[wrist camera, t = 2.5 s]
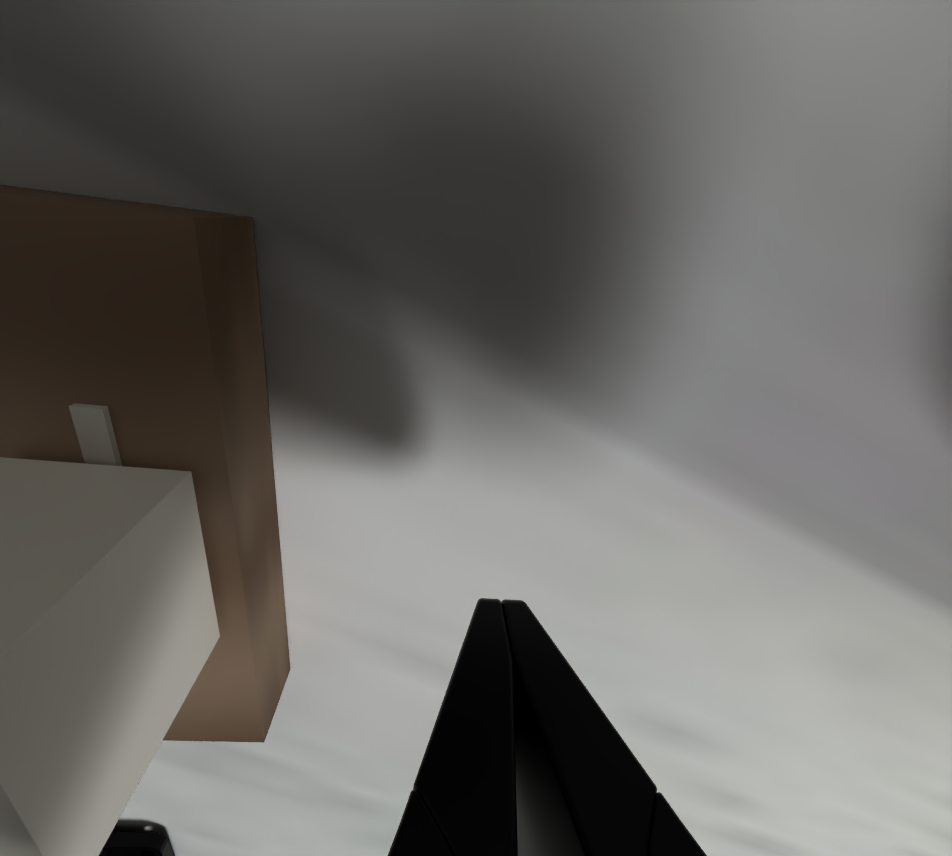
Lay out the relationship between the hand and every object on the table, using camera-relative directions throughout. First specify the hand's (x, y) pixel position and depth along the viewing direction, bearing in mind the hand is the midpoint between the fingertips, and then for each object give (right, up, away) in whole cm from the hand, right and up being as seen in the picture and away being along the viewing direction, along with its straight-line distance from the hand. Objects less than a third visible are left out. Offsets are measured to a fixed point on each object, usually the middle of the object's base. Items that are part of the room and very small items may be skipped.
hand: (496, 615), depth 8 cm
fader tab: (-7, +1, 0) cm, 7 cm away
